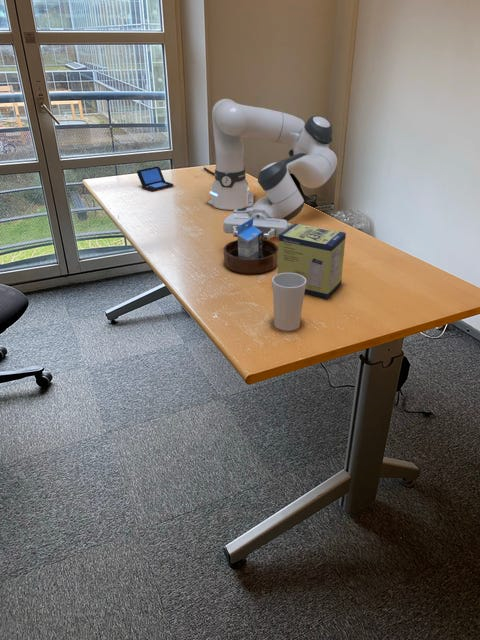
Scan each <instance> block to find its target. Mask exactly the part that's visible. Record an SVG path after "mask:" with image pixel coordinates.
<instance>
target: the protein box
mask: <svg viewBox="0 0 480 640" xmlns="http://www.w3.org/2000/svg"><path fill="white" fill-rule="evenodd" d="M346 238H347V232H344V231H340V230H333V229H328V228H322V227H317V226H312V225H306V224H300V223H296V222H295V223H293V224H291V226H290V227H289V228H288V229H286V230H285V231H284V232H282V233H281V234H279V237H278V246H277V247H278V263H277V274H281V273H296V274H299V275H302V276H303V277H305V279H306V286H305V292H304V295H310V296H312V297H313V296H314V297H317V298H321V299H325V300H327V299H329V298H330V297H331V295H332V294H334V292H335V291H336V290H337V289H338V288H339V287H340V286H341V284H342V279H343V278H342V277H343V267H344V257H345V248H346V247H345V246H346Z"/></svg>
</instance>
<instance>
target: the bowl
mask: <svg viewBox="0 0 480 640" xmlns="http://www.w3.org/2000/svg"><path fill="white" fill-rule="evenodd" d="M223 265H224V266H226V267H227V268H228V269H229V270H231V271H234V272H237V273H240V274H249V275H254V274H261V273H265V272H268V271H270V270H272V269H274V268H276V266H277V267H278V246H277V244H275V243H274V242H271V241H269V240H267V239H263V257H262V258H259V259H244V258H239V257H238V239H236V240H233V241H230V242H228V243H227V244H225V246H224V247H223Z"/></svg>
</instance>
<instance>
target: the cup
mask: <svg viewBox="0 0 480 640" xmlns="http://www.w3.org/2000/svg"><path fill="white" fill-rule="evenodd" d="M271 278H272V279H271V282H272V284H271V285H272V297H273V298H272V300H273V301H272V302H273V303H272V304H273V322H274V323H273V325H274V327H276V328H277V329H279V330H280V331H295V330H297V329H299V327H300V326H301V317H302V309H303V304H304V298H305V297H304V296H305V293H304V292H305V286H306V279H305V277H303V276H302V275H299V274H296V273H281V274H278V273H277V274H276V275H273V277H271Z"/></svg>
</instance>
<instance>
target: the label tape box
mask: <svg viewBox="0 0 480 640" xmlns="http://www.w3.org/2000/svg"><path fill="white" fill-rule="evenodd" d="M253 219H254V218H252V219H250V220H248V221H247V222H245V223H243V224H241V225H240V226H238V237H237V240H238V257H239V258H244V259H259V258H262V257H263V240H264V236H263V232H262V231H260V230H259V229H257V228H256V227H254V226H253ZM245 225H248V226H247V227H246V228H244V229H243V227H244V226H245Z"/></svg>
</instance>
